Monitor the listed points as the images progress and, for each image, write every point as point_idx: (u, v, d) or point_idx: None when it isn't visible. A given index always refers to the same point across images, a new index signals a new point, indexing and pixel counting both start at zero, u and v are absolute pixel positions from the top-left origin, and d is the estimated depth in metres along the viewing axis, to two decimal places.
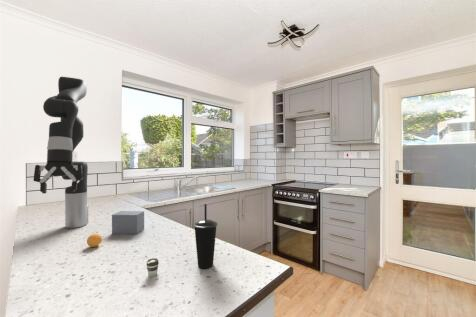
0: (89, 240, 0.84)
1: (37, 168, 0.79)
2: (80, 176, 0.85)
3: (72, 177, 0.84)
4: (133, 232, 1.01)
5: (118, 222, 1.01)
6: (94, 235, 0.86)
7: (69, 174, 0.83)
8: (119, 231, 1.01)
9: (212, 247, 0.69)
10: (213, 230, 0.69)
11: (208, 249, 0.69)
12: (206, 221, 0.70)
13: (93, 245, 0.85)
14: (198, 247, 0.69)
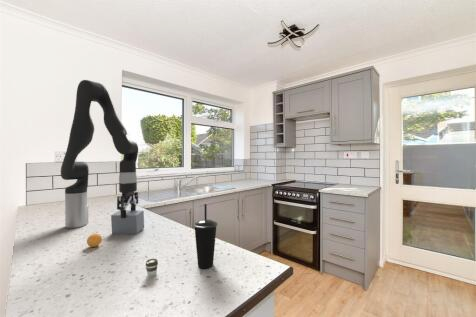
0: (89, 240, 0.84)
1: (123, 199, 0.98)
2: (137, 201, 1.11)
3: (135, 202, 1.08)
4: (133, 232, 1.01)
5: (118, 222, 1.01)
6: (94, 235, 0.86)
7: (135, 200, 1.07)
8: (119, 231, 1.01)
9: (212, 247, 0.69)
10: (213, 230, 0.69)
11: (208, 249, 0.69)
12: (206, 221, 0.70)
13: (93, 245, 0.85)
14: (198, 247, 0.69)
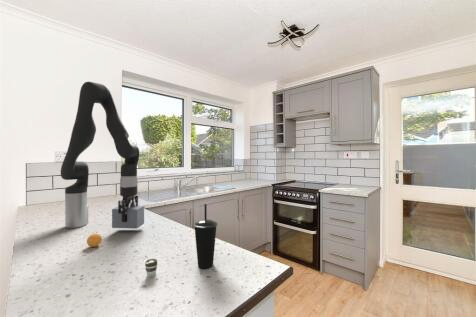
0: (89, 240, 0.84)
1: (124, 203, 0.99)
2: (137, 204, 1.11)
3: None
4: (133, 226, 1.01)
5: (118, 216, 1.01)
6: (94, 235, 0.86)
7: (135, 204, 1.08)
8: (119, 225, 1.02)
9: (212, 247, 0.69)
10: (213, 230, 0.69)
11: (208, 249, 0.69)
12: (206, 221, 0.70)
13: (93, 245, 0.85)
14: (198, 247, 0.69)
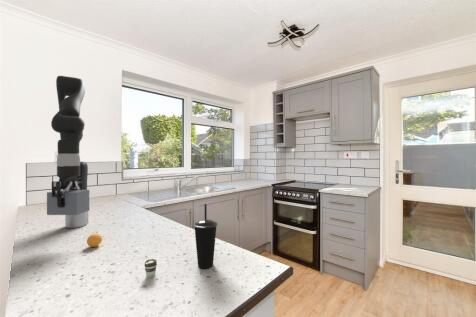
0: (89, 240, 0.84)
1: (59, 184, 0.83)
2: (82, 189, 0.95)
3: None
4: (72, 213, 0.86)
5: (54, 201, 0.86)
6: (94, 235, 0.86)
7: (78, 187, 0.92)
8: (55, 212, 0.86)
9: (212, 247, 0.69)
10: (213, 230, 0.69)
11: (208, 249, 0.69)
12: (206, 221, 0.70)
13: (93, 245, 0.85)
14: (198, 247, 0.69)
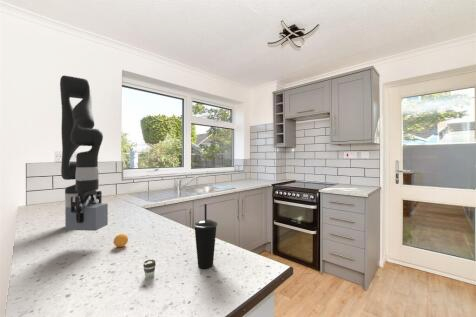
0: (116, 244, 0.84)
1: (78, 200, 0.81)
2: (100, 202, 0.93)
3: None
4: (91, 228, 0.83)
5: (73, 216, 0.83)
6: None
7: (96, 201, 0.90)
8: (74, 227, 0.84)
9: (212, 247, 0.69)
10: (213, 230, 0.69)
11: (208, 249, 0.69)
12: (206, 221, 0.70)
13: (120, 238, 0.85)
14: (198, 247, 0.69)
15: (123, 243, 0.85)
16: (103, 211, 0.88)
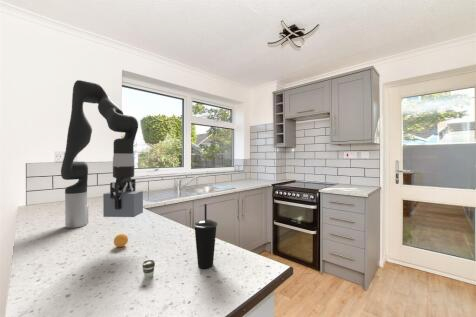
0: (116, 244, 0.84)
1: (117, 185, 0.80)
2: None
3: None
4: (129, 215, 0.83)
5: (111, 203, 0.83)
6: None
7: (132, 189, 0.89)
8: (112, 214, 0.83)
9: (212, 247, 0.69)
10: (213, 230, 0.69)
11: (208, 249, 0.69)
12: (206, 221, 0.70)
13: (120, 238, 0.85)
14: (198, 247, 0.69)
15: (123, 243, 0.85)
16: (139, 198, 0.87)
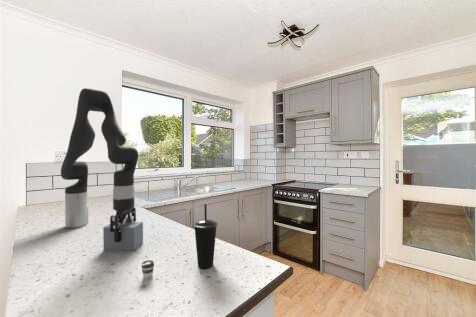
0: None
1: (117, 219, 0.80)
2: (135, 218, 0.93)
3: (132, 221, 0.90)
4: (129, 248, 0.83)
5: (111, 236, 0.83)
6: None
7: (132, 218, 0.89)
8: (112, 247, 0.83)
9: (212, 247, 0.69)
10: (213, 230, 0.69)
11: (208, 249, 0.69)
12: (206, 221, 0.70)
13: None
14: (198, 247, 0.69)
15: None
16: (139, 230, 0.87)
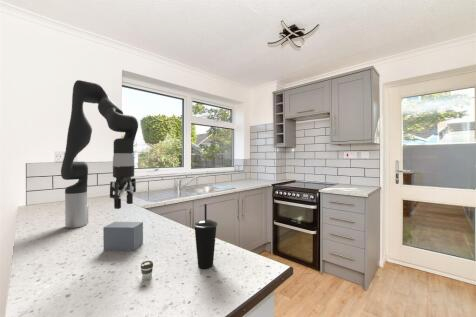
0: None
1: (117, 185, 0.80)
2: (135, 189, 0.93)
3: (132, 190, 0.90)
4: (129, 248, 0.83)
5: (111, 236, 0.83)
6: None
7: (132, 188, 0.89)
8: (112, 247, 0.83)
9: (212, 247, 0.69)
10: (213, 230, 0.69)
11: (208, 249, 0.69)
12: (206, 221, 0.70)
13: None
14: (198, 247, 0.69)
15: None
16: (139, 230, 0.87)
